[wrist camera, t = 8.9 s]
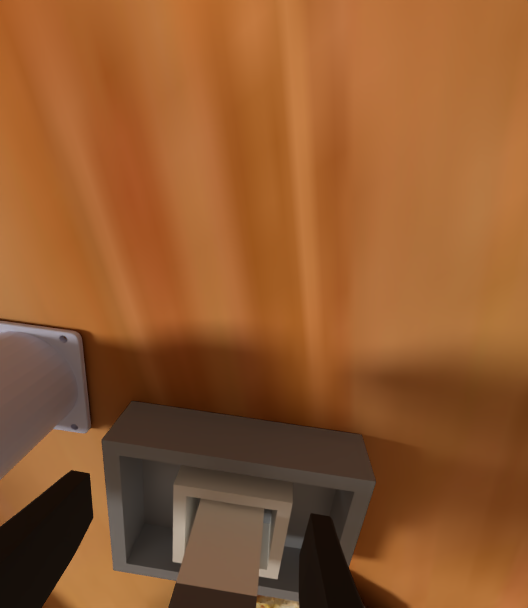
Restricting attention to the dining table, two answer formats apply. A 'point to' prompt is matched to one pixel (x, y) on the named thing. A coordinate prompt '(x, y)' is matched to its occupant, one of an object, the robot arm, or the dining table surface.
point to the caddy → (228, 486)
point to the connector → (221, 558)
